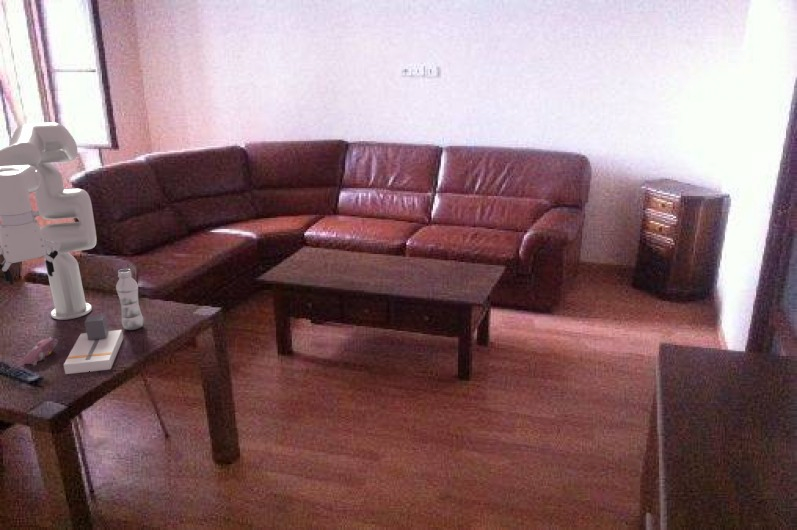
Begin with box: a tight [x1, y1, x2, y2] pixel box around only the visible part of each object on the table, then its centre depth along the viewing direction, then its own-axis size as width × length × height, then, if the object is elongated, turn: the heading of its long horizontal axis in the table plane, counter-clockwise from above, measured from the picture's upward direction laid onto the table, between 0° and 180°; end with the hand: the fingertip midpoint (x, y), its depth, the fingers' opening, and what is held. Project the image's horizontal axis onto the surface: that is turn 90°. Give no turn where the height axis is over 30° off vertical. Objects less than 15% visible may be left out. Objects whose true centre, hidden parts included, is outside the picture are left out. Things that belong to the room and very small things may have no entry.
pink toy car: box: [22, 336, 59, 365], centre depth 190 cm, size 10×5×7 cm, turn 169°
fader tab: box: [84, 314, 109, 340], centre depth 195 cm, size 4×5×6 cm
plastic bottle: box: [115, 268, 144, 331], centre depth 205 cm, size 6×7×20 cm
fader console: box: [63, 329, 124, 375], centre depth 191 cm, size 20×12×3 cm, turn 12°
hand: (31, 279), depth 175 cm, fingers open, 9 cm apart
